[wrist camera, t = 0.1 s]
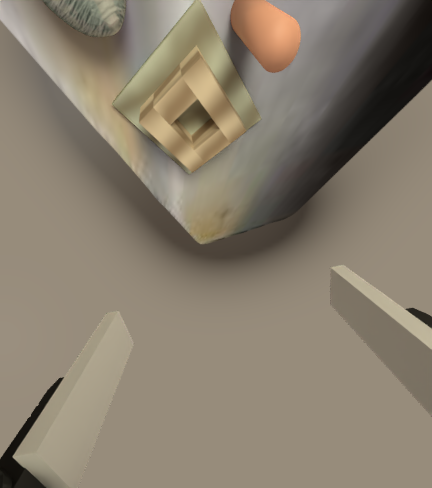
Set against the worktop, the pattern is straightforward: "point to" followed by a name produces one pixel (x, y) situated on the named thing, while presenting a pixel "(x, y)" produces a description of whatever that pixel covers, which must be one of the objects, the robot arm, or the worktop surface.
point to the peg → (266, 33)
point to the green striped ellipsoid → (91, 15)
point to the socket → (189, 94)
